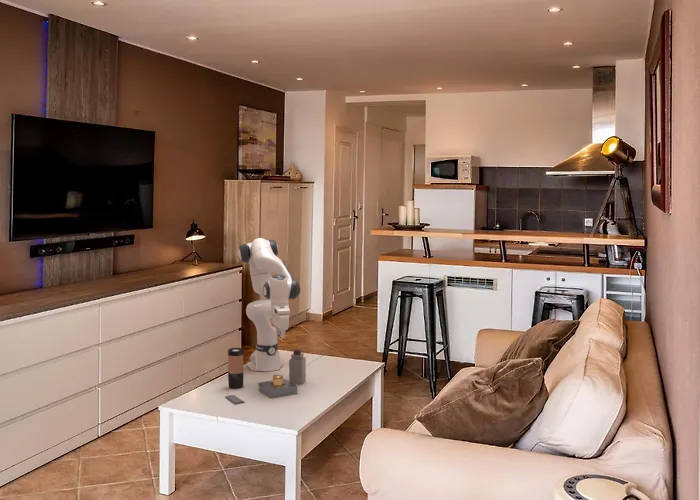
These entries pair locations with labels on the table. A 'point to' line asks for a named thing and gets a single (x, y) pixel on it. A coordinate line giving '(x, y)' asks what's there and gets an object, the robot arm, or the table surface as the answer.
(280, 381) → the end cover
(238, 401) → the mat
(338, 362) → the table surface
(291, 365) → the grey square bottle
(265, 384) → the housing
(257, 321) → the robot arm
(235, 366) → the travel mug
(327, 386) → the table surface
